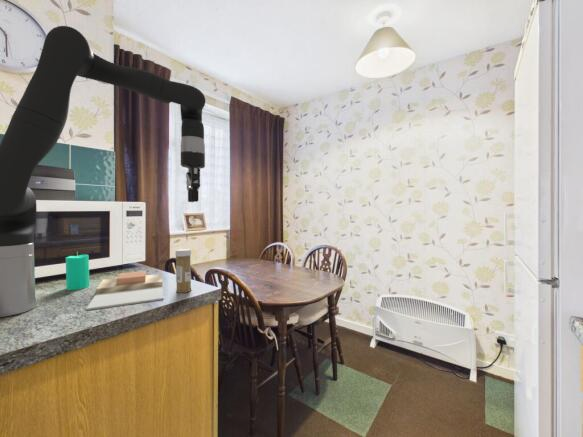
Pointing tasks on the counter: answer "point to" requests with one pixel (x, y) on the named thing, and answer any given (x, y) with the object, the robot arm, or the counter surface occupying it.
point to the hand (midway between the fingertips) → (193, 201)
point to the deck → (112, 286)
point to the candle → (77, 272)
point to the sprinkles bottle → (183, 270)
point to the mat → (126, 297)
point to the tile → (131, 277)
